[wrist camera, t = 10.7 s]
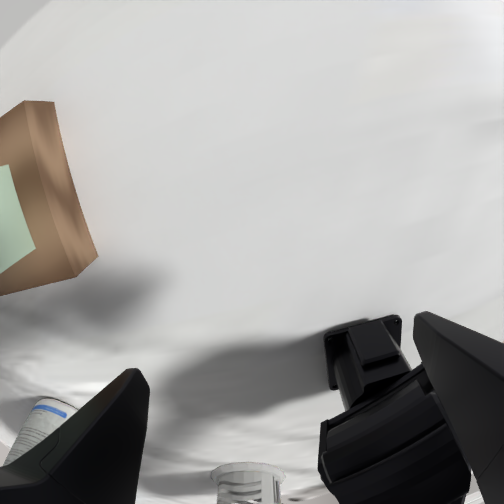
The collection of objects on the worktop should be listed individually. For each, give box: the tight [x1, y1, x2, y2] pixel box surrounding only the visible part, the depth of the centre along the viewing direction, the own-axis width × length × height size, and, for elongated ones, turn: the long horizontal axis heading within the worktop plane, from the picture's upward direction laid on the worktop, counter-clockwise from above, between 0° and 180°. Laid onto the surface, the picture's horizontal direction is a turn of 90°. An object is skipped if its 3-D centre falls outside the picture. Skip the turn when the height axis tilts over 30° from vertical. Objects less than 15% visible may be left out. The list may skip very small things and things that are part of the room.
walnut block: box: [0, 101, 98, 296], centre depth 18 cm, size 12×12×4 cm
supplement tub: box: [3, 399, 78, 466], centre depth 22 cm, size 10×10×15 cm
